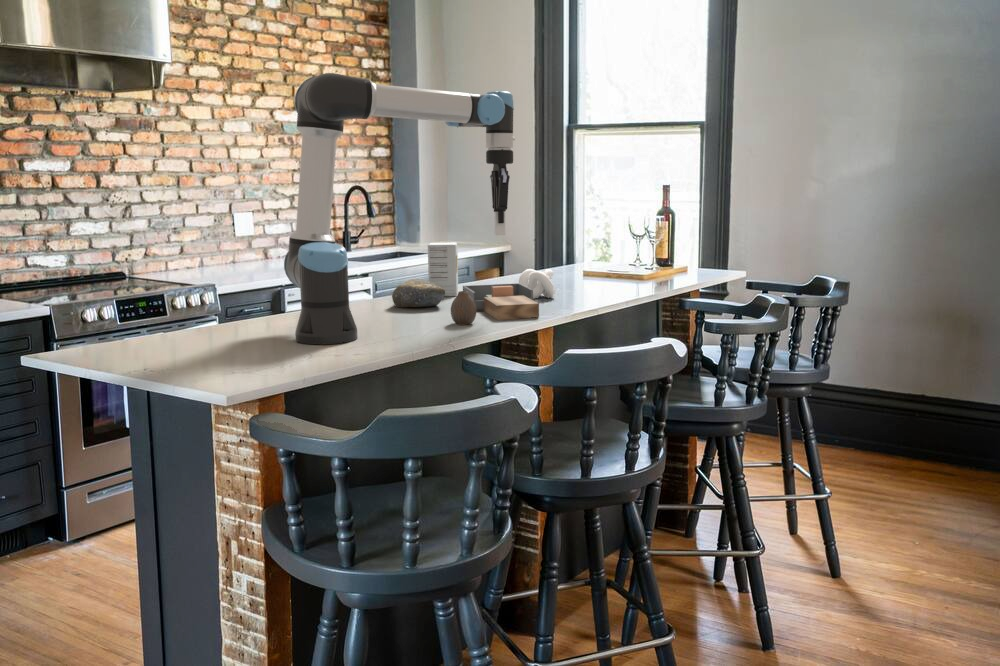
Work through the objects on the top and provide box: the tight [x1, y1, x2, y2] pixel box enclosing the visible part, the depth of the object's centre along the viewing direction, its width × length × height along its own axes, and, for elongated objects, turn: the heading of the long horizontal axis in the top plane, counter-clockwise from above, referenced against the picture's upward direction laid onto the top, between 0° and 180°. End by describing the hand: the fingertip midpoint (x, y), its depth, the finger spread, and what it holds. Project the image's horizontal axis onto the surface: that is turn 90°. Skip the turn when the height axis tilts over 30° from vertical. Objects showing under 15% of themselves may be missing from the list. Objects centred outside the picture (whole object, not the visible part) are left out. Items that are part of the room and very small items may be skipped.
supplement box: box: [427, 241, 459, 297], centre depth 299 cm, size 10×9×17 cm
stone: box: [391, 278, 445, 308], centre depth 275 cm, size 14×19×8 cm
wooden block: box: [484, 295, 540, 321], centre depth 260 cm, size 12×16×4 cm
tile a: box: [491, 286, 513, 297], centre depth 270 cm, size 6×6×2 cm
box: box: [462, 282, 534, 312], centre depth 275 cm, size 18×15×6 cm
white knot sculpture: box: [518, 268, 556, 300], centre depth 290 cm, size 11×12×9 cm
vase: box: [450, 290, 477, 326], centre depth 245 cm, size 7×7×9 cm
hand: (499, 234), depth 257 cm, fingers closed
